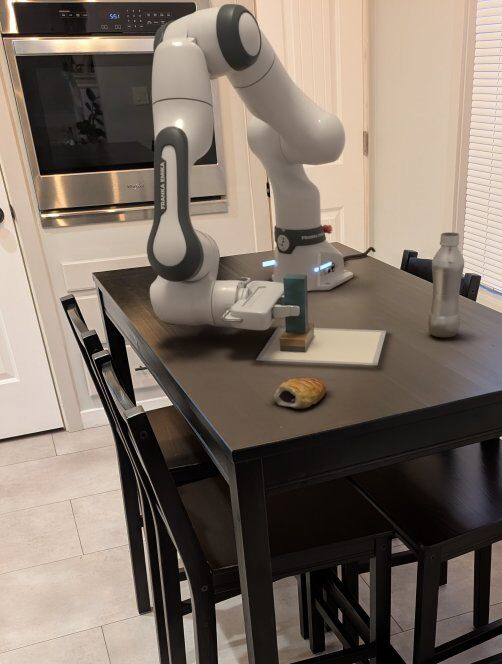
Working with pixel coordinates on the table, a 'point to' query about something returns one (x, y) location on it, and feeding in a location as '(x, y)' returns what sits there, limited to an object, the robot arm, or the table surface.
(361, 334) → the whiteboard
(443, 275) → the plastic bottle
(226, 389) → the table surface
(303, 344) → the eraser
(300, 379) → the pastry
